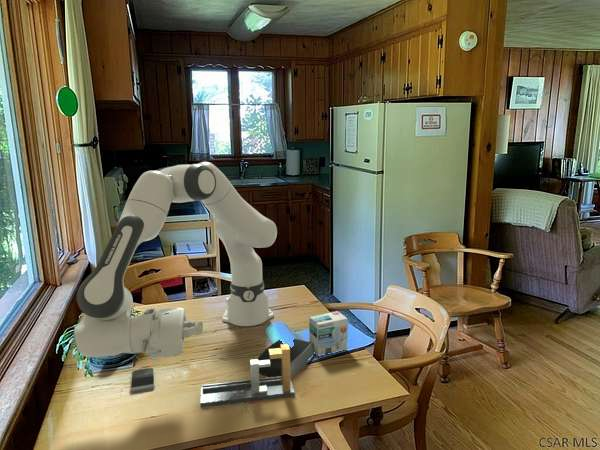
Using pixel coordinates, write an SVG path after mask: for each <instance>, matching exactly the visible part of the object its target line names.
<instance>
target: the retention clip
mask: <svg viewBox="0 0 600 450" xmlns="http://www.w3.org/2000/svg"><path fill="white" fill-rule="evenodd" d="M249 366H250V367H249V368H250V371H249V372H250V380H251V392H252V395H256V394H265V393H267V387H266V385H265V386H259V379H260V374H259V368H260V367H269V366H270V360H261V361H258V359H257V358H255V359H250V360H249Z"/></svg>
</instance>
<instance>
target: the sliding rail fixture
mask: <svg viewBox="0 0 600 450" xmlns="http://www.w3.org/2000/svg"><path fill="white" fill-rule="evenodd" d="M280 347H281V348H276V349H269V356H270V359H276V358H281V376H278V377H264V378H260V377H259V386H265V385H266V387H267V393H265V394H256V395H252V392H251V379H244V380H234V381H227V382H225V381H224V382H217V383H216V382H215V383H206V384H202V387H201V388H200V404H199V405H200V408H207V407H209V408H210V407H217V406H225V405H233V404H240V403H249V402H251V403H252V402H258V401H266V400H267V401H268V400H273V399H274V400H276V399H282V398H290V397H291V398H292V397H295V395H296V392H295V389H294V385H293V382H292V380H291V379H292V378H291V379H290V348H289V345H288V344H281V345H280Z"/></svg>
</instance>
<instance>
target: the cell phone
mask: <svg viewBox="0 0 600 450" xmlns="http://www.w3.org/2000/svg"><path fill="white" fill-rule="evenodd" d="M130 373H131V374H130V376H131V377H130V393H131V394H133V395H136V394H141V393H146V392H152V391H154V389H155V387H156V386H155V384H156V383H155V381H156V380H155V368H154V367H149V368H148V367H147V368H141V369H136V370H132V372H130Z"/></svg>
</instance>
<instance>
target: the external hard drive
mask: <svg viewBox="0 0 600 450" xmlns="http://www.w3.org/2000/svg"><path fill="white" fill-rule="evenodd" d="M293 342H294V346H293V347H292V348H291V347H289V348H290V379H292V378H294V377H295V376H296V375H297V374H298V373H299V372H300V371H301V370H302V369H304V368H305V367H306V366H307V364H308V363H307V361H308V359H309V358H310V357H311V356H312V355H313V354H314V347H313V343H312V342H309V341H306V340H302V339H297V338H294V340H293ZM281 344H283V343H282V341H280V339H278V340H276V341H275V342H274V343H272V344H271V345H269V346H268V347H267V348H266V349H264V351H262V353H260V355H259V356H257V358H256V359H258V361H261V360H270V366H269V367H260V368H259V375H261V376H264V377H266V378H269V377H278V376H281V358H276V359H270V356H269V349H276V348H281V347H280V345H281Z"/></svg>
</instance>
